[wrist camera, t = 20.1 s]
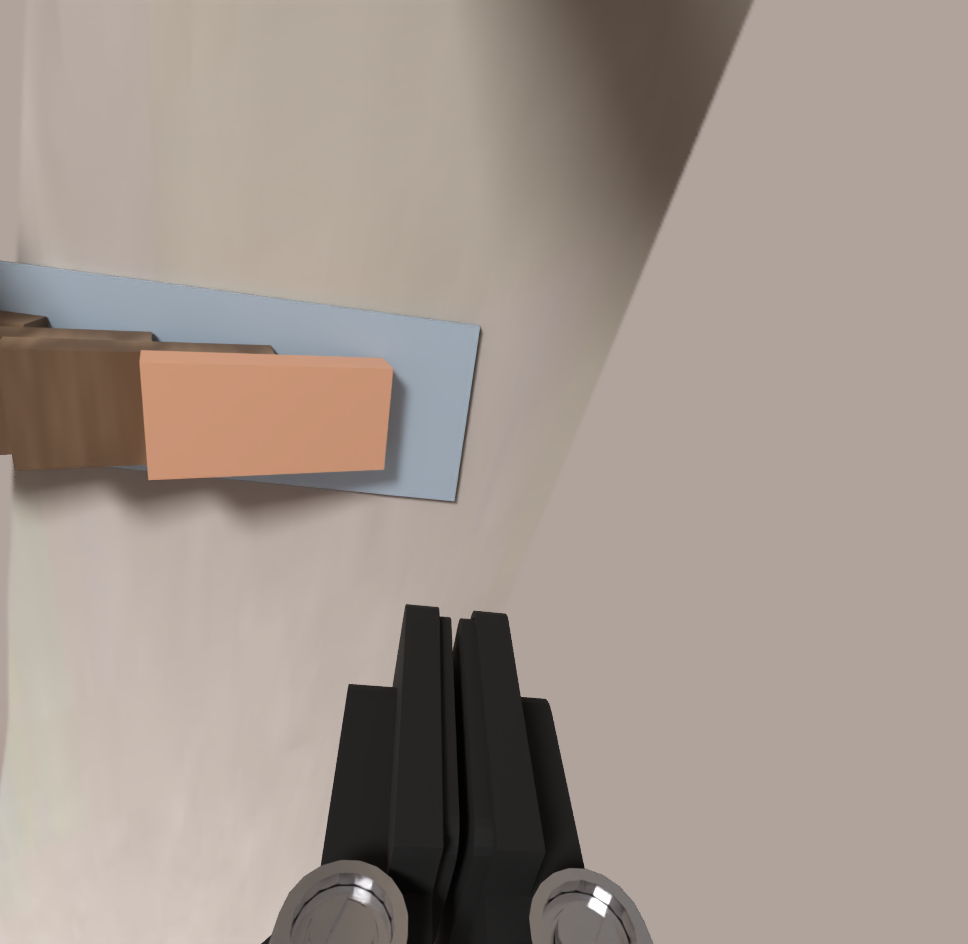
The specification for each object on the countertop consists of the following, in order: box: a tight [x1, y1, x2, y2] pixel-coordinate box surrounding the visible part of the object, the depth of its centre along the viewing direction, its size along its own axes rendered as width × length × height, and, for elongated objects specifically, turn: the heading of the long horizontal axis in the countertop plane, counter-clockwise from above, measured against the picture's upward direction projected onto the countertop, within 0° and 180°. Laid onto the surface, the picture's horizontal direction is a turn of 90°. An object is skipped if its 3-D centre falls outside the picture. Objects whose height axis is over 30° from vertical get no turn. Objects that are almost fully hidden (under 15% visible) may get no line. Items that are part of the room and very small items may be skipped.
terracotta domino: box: [139, 350, 393, 480], centre depth 34 cm, size 2×6×12 cm
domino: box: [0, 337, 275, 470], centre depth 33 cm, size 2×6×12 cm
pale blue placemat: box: [0, 261, 480, 501], centre depth 36 cm, size 11×25×1 cm, turn 81°
